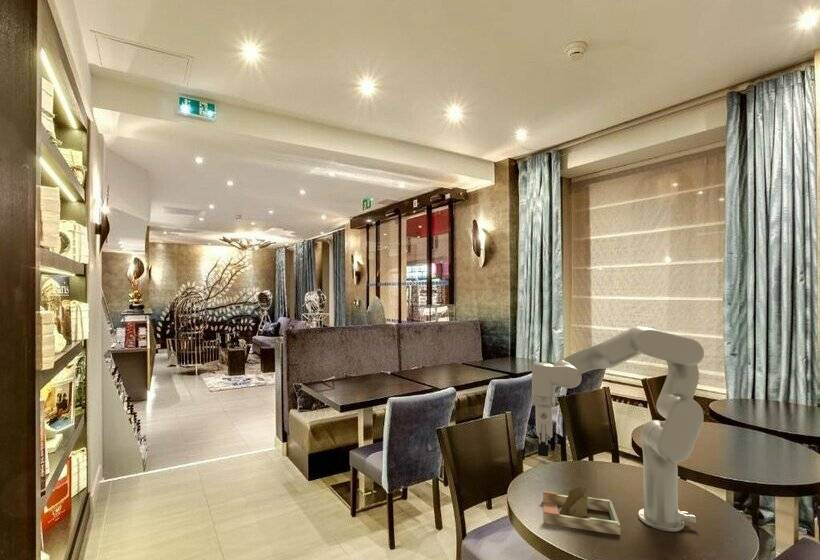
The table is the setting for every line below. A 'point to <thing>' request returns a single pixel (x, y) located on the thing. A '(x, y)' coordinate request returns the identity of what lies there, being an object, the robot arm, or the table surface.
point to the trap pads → (550, 506)
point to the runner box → (584, 523)
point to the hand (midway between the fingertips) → (543, 455)
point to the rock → (575, 503)
